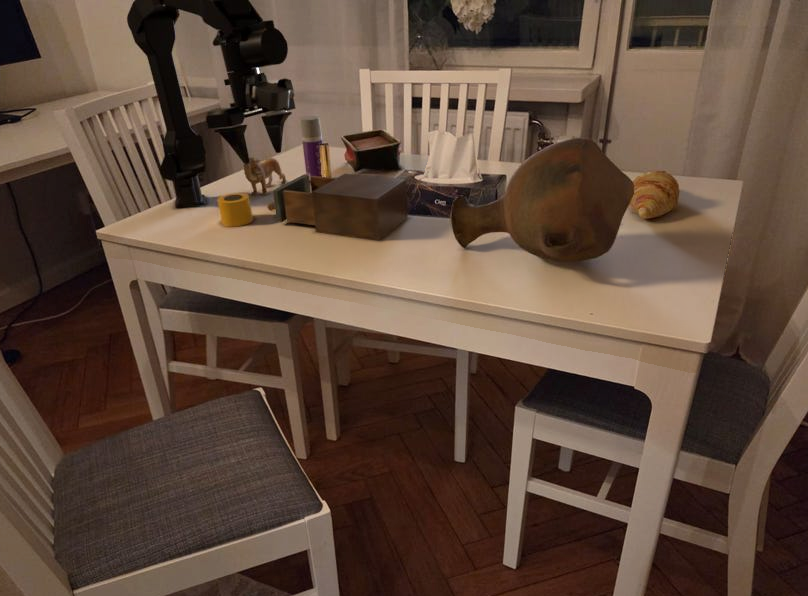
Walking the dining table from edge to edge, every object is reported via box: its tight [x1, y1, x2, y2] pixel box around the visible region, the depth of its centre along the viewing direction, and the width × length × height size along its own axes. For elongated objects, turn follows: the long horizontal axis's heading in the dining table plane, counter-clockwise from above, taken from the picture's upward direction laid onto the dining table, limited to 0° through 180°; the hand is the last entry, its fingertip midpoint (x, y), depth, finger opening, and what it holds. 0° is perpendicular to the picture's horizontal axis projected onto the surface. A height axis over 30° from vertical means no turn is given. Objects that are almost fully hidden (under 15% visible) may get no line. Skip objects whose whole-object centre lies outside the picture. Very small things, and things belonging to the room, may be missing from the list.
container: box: [300, 115, 324, 186], centre depth 149 cm, size 5×5×15 cm
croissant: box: [629, 170, 680, 220], centre depth 126 cm, size 21×10×8 cm, turn 156°
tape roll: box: [217, 192, 253, 227], centre depth 131 cm, size 6×6×5 cm
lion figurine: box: [243, 156, 287, 196], centre depth 147 cm, size 15×5×9 cm, turn 162°
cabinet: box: [311, 173, 408, 241], centre depth 124 cm, size 14×13×8 cm
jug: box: [449, 137, 634, 263], centre depth 105 cm, size 20×20×30 cm
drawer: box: [267, 173, 337, 226], centre depth 129 cm, size 17×12×6 cm
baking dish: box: [340, 128, 402, 173], centre depth 161 cm, size 14×18×10 cm
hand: (263, 158), depth 121 cm, fingers open, 9 cm apart
